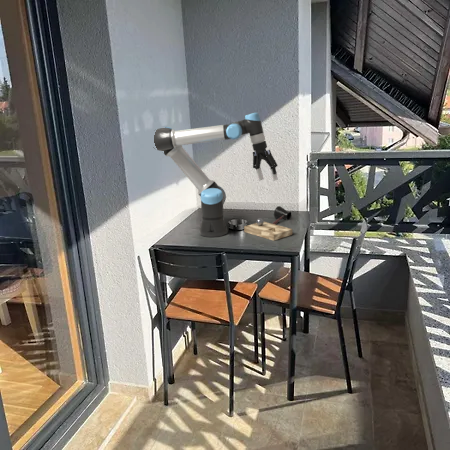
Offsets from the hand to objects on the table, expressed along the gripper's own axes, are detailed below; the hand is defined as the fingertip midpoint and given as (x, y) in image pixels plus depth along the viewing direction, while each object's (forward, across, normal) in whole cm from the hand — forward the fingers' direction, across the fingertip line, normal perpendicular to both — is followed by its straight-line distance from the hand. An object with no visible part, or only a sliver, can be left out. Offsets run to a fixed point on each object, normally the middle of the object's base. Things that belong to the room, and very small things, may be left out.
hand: (268, 180), depth 240 cm
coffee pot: (+27, +9, -5) cm, 29 cm away
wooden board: (+25, -8, +14) cm, 30 cm away
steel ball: (+19, -3, +14) cm, 24 cm away
